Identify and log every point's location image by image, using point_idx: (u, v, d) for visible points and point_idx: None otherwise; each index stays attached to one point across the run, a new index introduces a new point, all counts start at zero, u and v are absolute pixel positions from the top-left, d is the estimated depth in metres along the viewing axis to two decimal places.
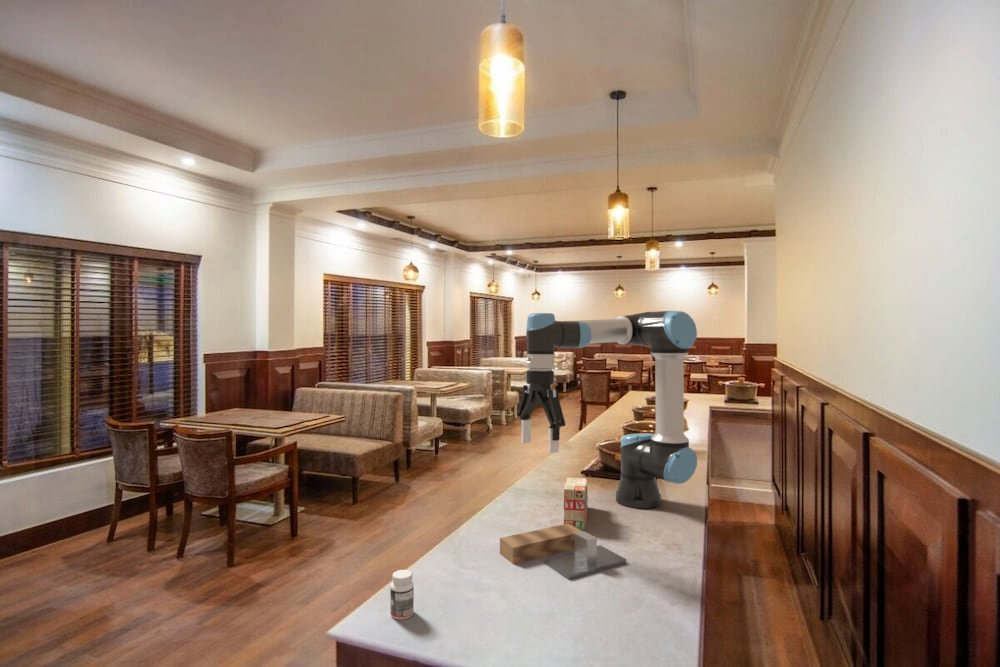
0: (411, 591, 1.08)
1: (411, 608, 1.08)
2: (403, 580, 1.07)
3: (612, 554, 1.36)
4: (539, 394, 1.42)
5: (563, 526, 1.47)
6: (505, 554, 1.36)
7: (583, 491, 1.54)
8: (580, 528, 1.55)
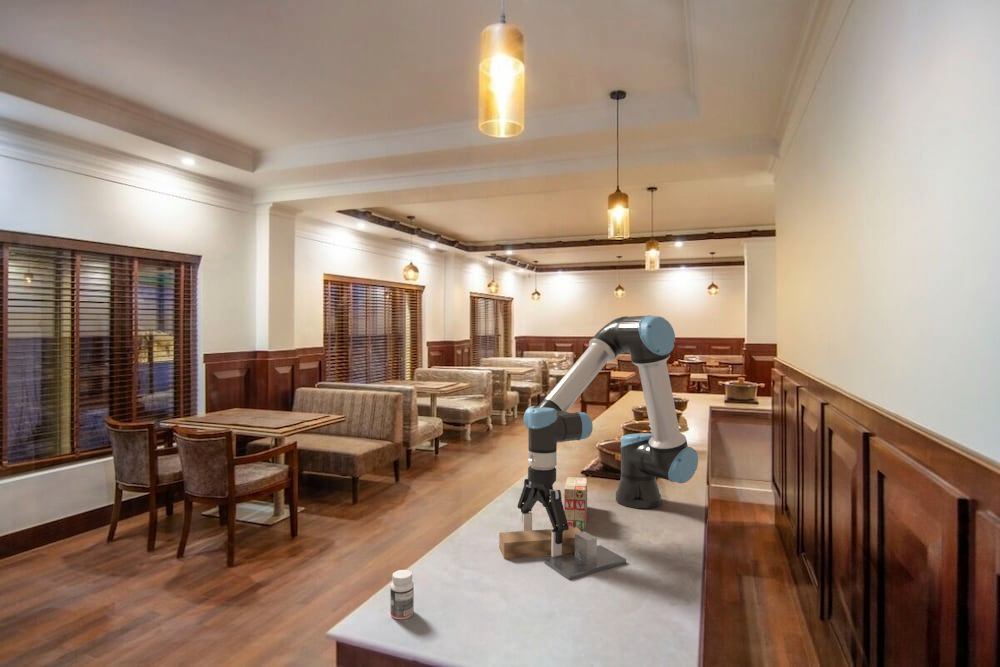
0: (411, 591, 1.08)
1: (411, 608, 1.08)
2: (403, 580, 1.07)
3: (612, 554, 1.36)
4: (541, 493, 1.38)
5: (570, 529, 1.45)
6: (501, 549, 1.39)
7: (583, 491, 1.55)
8: (580, 528, 1.55)
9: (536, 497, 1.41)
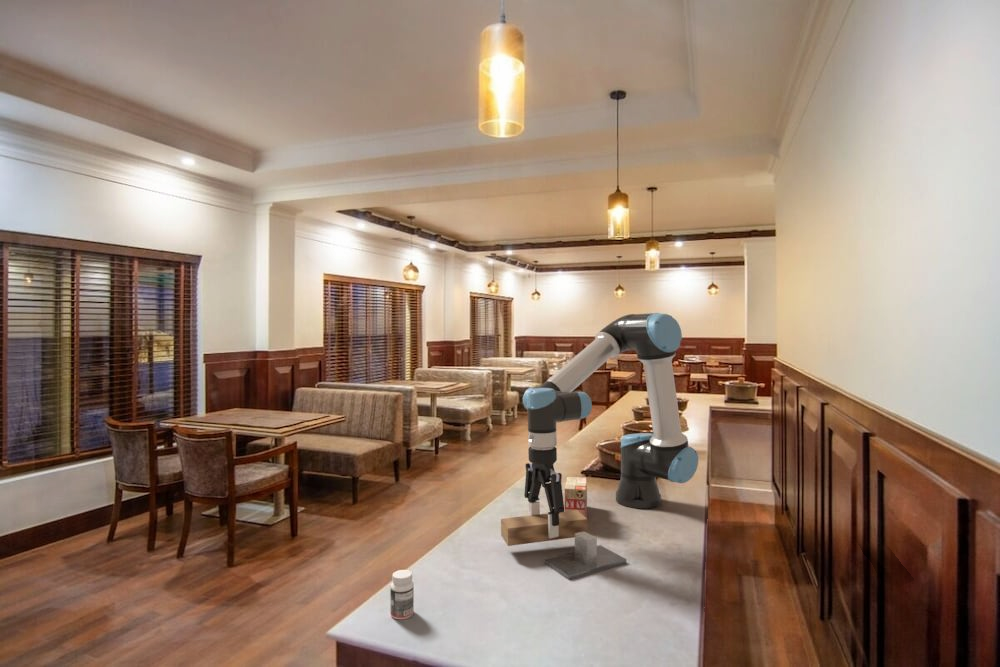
0: (411, 591, 1.08)
1: (411, 608, 1.08)
2: (403, 580, 1.07)
3: (612, 554, 1.36)
4: (542, 474, 1.38)
5: (570, 512, 1.46)
6: (504, 535, 1.39)
7: (584, 490, 1.55)
8: None
9: (537, 477, 1.41)
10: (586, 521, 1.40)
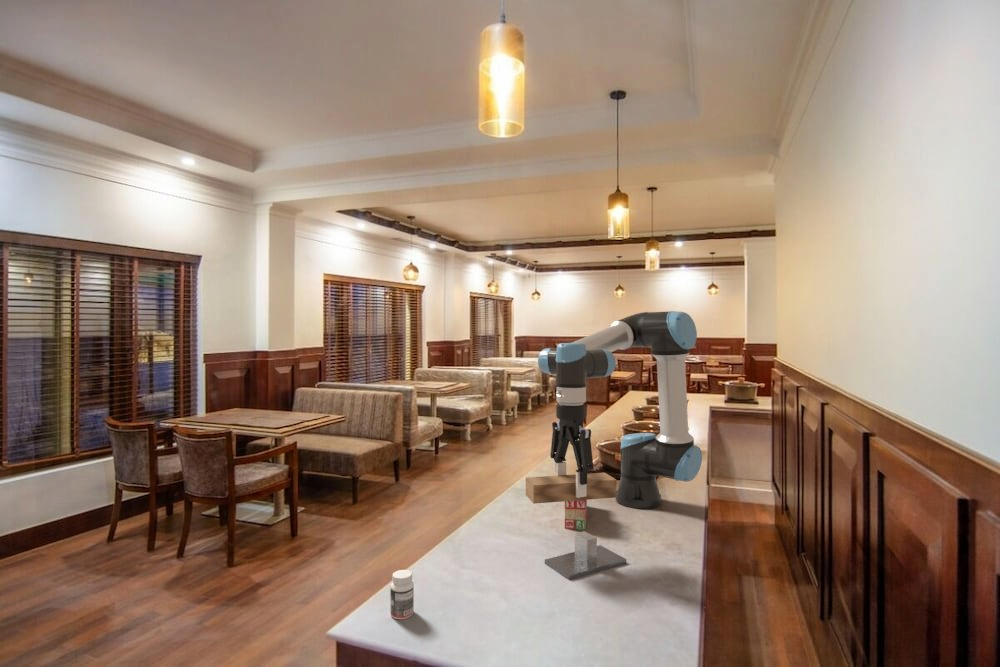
0: (411, 591, 1.08)
1: (411, 608, 1.08)
2: (402, 580, 1.07)
3: (612, 554, 1.36)
4: (570, 431, 1.33)
5: (597, 474, 1.40)
6: (529, 493, 1.33)
7: None
8: (581, 527, 1.56)
9: (565, 435, 1.36)
10: (615, 482, 1.34)
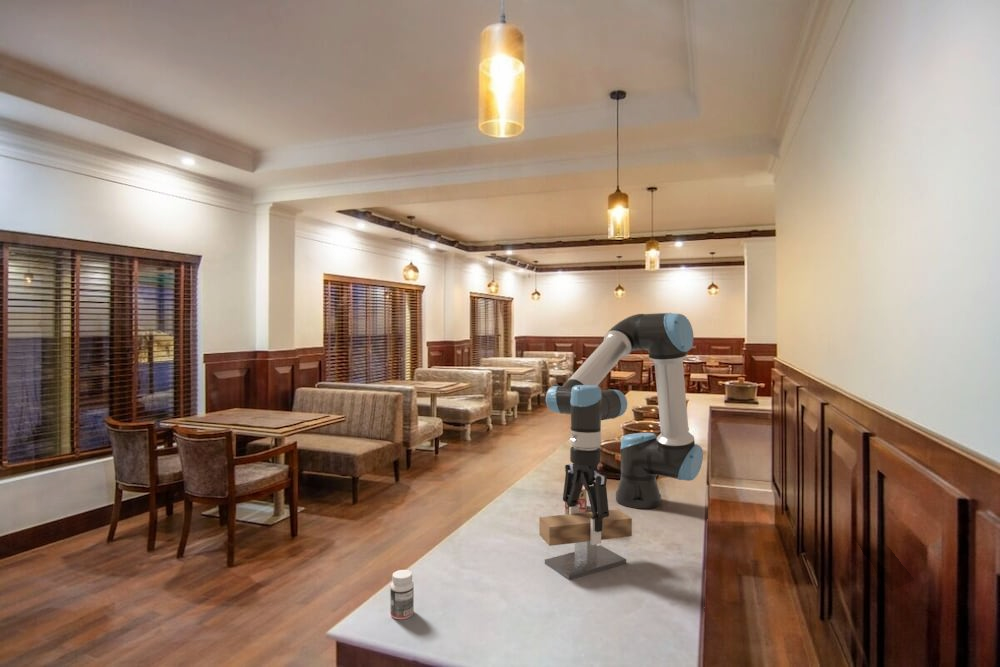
0: (411, 591, 1.08)
1: (411, 608, 1.08)
2: (402, 580, 1.07)
3: (612, 554, 1.36)
4: (585, 476, 1.30)
5: (611, 511, 1.37)
6: (543, 534, 1.30)
7: (584, 490, 1.55)
8: None
9: (579, 479, 1.33)
10: (630, 521, 1.32)
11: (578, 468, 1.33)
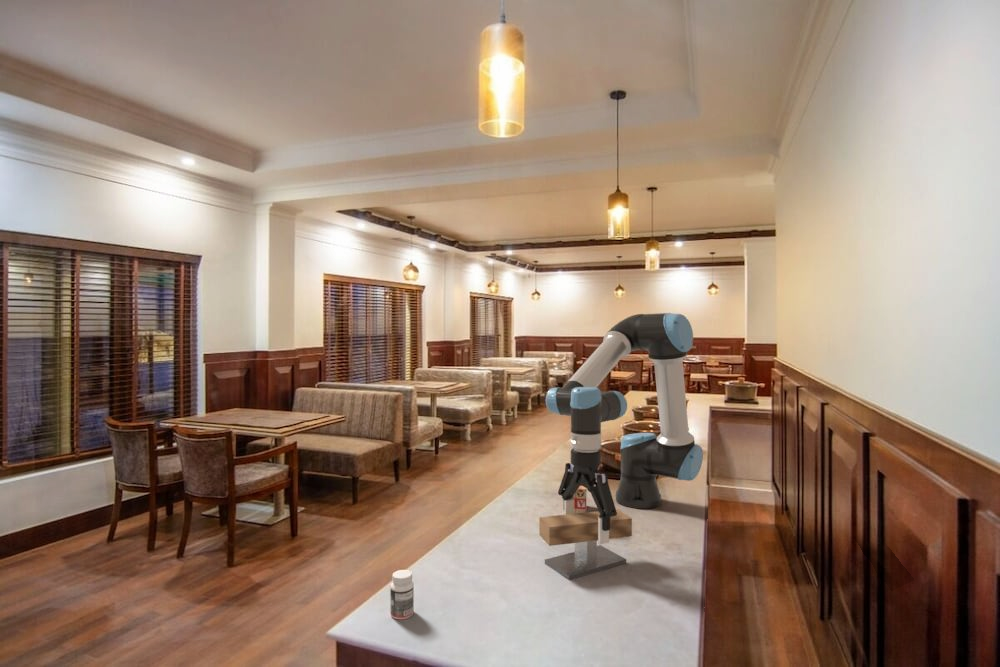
0: (411, 591, 1.08)
1: (411, 608, 1.08)
2: (403, 580, 1.07)
3: (612, 554, 1.36)
4: (586, 477, 1.30)
5: None
6: (543, 534, 1.30)
7: (584, 490, 1.56)
8: None
9: (580, 482, 1.33)
10: (630, 521, 1.32)
11: None
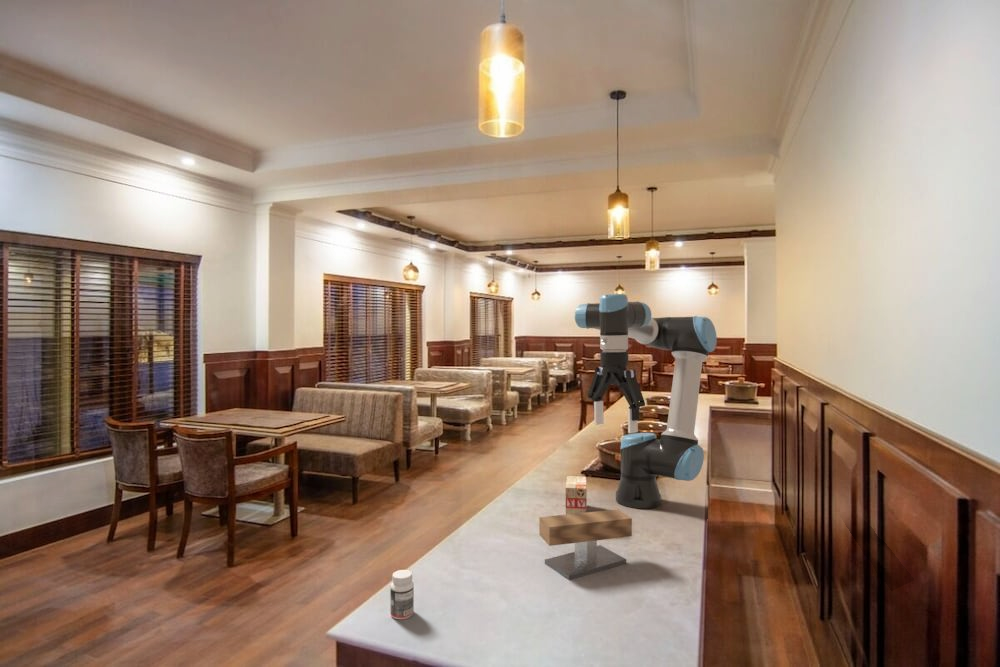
0: (411, 591, 1.08)
1: (411, 608, 1.08)
2: (403, 580, 1.07)
3: (612, 554, 1.36)
4: (615, 375, 1.42)
5: (611, 511, 1.37)
6: (543, 534, 1.30)
7: (584, 489, 1.56)
8: None
9: (609, 381, 1.45)
10: (630, 521, 1.32)
11: None
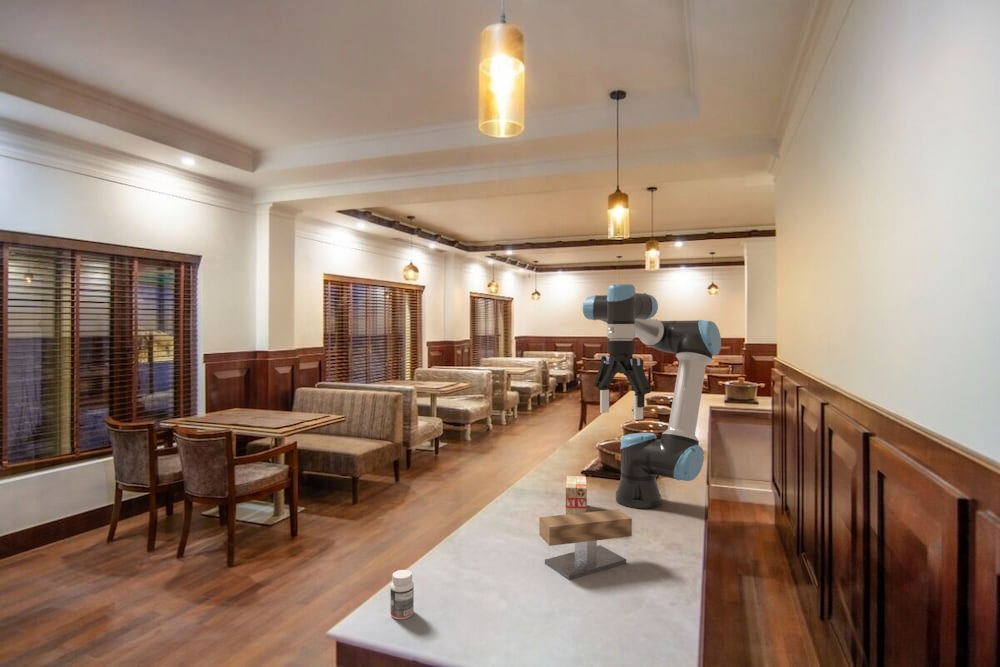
0: (411, 591, 1.08)
1: (411, 608, 1.08)
2: (403, 580, 1.07)
3: (612, 554, 1.36)
4: (621, 363, 1.45)
5: (611, 511, 1.37)
6: (543, 534, 1.30)
7: (585, 489, 1.56)
8: None
9: (615, 369, 1.48)
10: (630, 521, 1.32)
11: None
